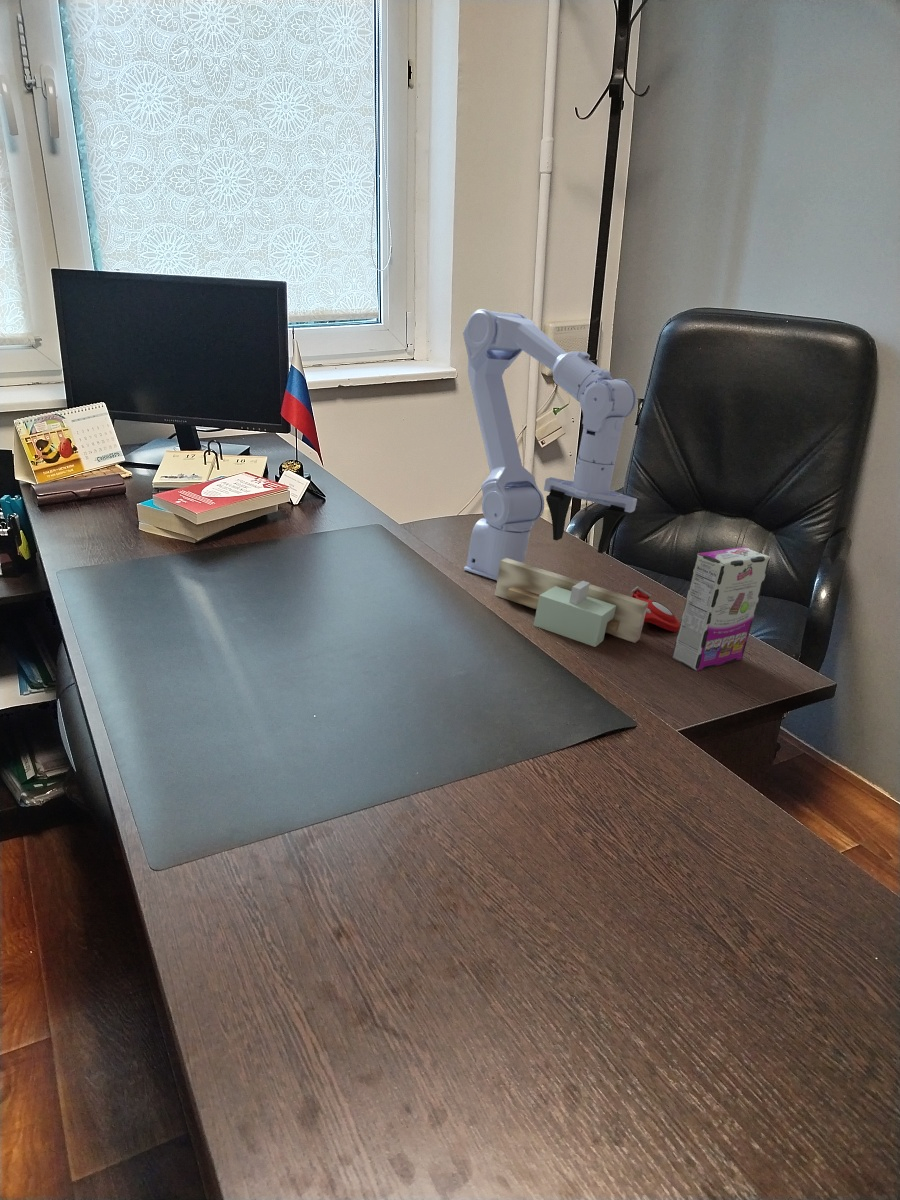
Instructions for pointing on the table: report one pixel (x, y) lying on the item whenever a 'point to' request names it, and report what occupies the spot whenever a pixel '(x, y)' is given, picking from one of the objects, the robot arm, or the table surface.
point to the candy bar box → (720, 607)
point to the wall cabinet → (574, 614)
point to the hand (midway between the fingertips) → (579, 545)
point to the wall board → (531, 582)
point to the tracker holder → (657, 612)
